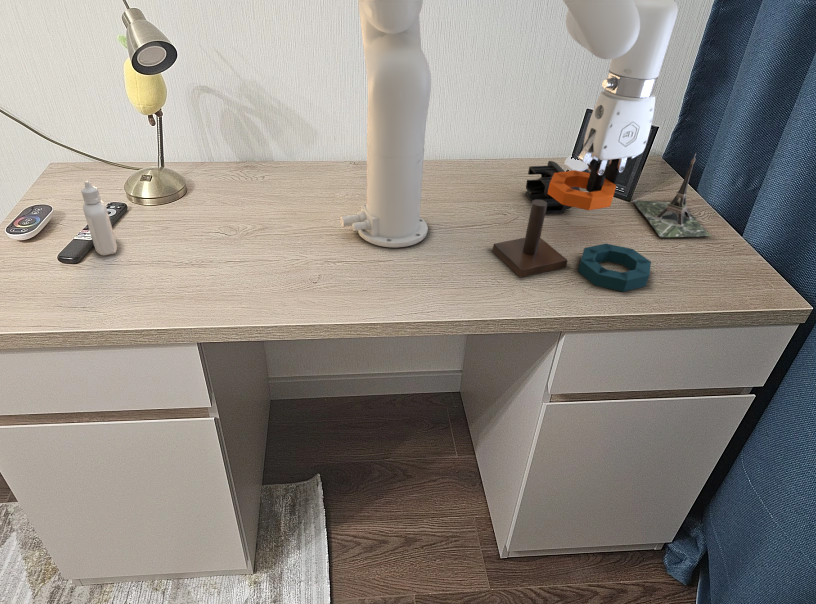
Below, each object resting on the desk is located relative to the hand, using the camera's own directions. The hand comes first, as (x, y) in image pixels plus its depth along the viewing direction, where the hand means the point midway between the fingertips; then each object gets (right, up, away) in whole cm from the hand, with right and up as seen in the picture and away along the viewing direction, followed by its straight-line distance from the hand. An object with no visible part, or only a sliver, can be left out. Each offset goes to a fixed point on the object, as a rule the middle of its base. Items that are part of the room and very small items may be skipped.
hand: (599, 191), depth 109 cm
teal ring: (0, -15, -7) cm, 17 cm away
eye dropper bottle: (-85, -11, -5) cm, 86 cm away
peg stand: (-14, -13, -4) cm, 19 cm away
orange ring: (-4, -1, -1) cm, 4 cm away
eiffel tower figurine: (+16, -4, +9) cm, 19 cm away
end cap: (-6, +1, +13) cm, 14 cm away
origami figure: (+1, +6, +21) cm, 22 cm away
